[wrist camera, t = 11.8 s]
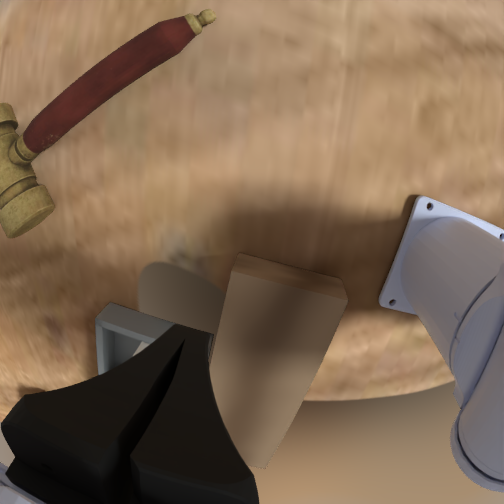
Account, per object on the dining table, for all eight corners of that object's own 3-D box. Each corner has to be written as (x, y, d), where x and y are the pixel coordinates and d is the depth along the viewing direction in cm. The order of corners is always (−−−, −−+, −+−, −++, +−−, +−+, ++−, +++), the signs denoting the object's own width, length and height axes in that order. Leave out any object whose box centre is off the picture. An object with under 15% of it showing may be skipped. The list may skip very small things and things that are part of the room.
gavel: (173, -52, 12) (252, 66, 15) (189, -22, 16) (255, 83, 19) (-44, 138, 16) (-1, 246, 18) (-8, 135, 20) (33, 229, 23)
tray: (213, 334, 24) (206, 354, 21) (192, 433, 28) (187, 452, 26) (110, 302, 24) (95, 317, 21) (113, 406, 28) (104, 423, 26)
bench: (341, 279, 21) (348, 300, 18) (267, 445, 28) (265, 469, 25) (238, 252, 21) (231, 270, 18) (197, 429, 28) (190, 452, 25)
